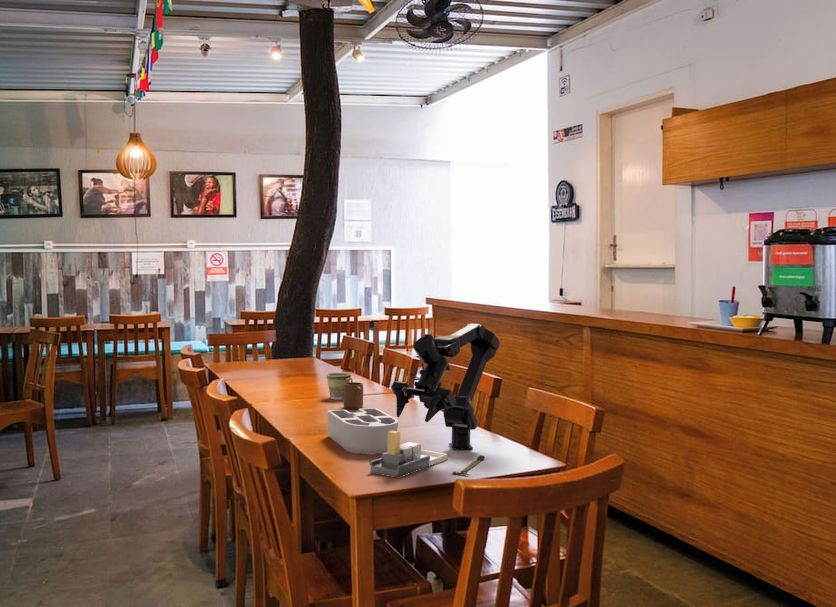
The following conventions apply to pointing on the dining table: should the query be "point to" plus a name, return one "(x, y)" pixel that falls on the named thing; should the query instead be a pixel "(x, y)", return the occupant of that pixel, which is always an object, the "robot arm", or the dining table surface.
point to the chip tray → (434, 456)
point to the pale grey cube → (406, 453)
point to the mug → (353, 395)
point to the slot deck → (399, 467)
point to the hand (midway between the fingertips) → (411, 419)
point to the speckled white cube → (414, 450)
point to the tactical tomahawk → (469, 466)
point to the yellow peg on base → (393, 451)
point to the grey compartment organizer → (361, 429)
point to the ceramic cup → (337, 384)
